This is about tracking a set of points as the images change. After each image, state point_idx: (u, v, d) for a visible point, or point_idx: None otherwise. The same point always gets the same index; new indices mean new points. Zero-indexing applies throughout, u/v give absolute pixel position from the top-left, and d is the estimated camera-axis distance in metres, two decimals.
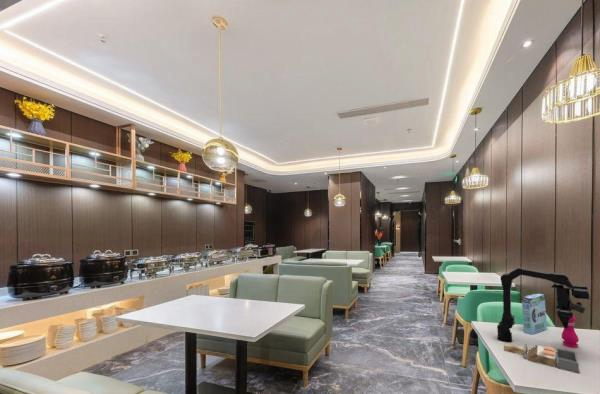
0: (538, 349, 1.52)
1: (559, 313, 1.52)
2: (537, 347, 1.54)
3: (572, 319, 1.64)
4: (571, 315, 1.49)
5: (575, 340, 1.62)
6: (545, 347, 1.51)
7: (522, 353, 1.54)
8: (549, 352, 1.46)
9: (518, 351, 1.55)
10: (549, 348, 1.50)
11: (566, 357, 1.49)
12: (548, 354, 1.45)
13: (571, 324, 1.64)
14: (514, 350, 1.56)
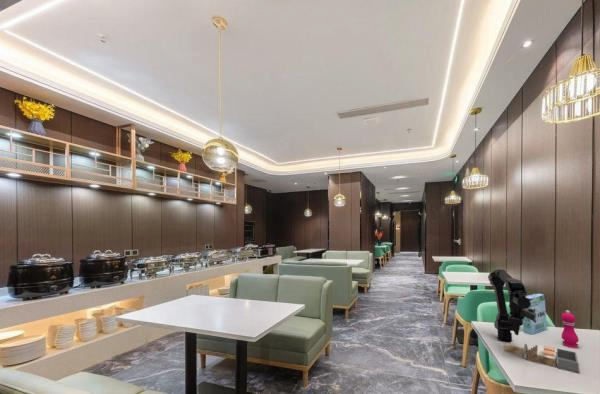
0: (538, 349, 1.52)
1: (510, 320, 1.52)
2: (537, 347, 1.54)
3: (572, 319, 1.64)
4: (521, 322, 1.49)
5: (575, 340, 1.62)
6: (545, 347, 1.51)
7: (522, 353, 1.54)
8: (549, 352, 1.46)
9: (518, 351, 1.55)
10: (549, 348, 1.50)
11: (566, 357, 1.49)
12: (548, 354, 1.45)
13: (571, 324, 1.64)
14: (514, 350, 1.56)
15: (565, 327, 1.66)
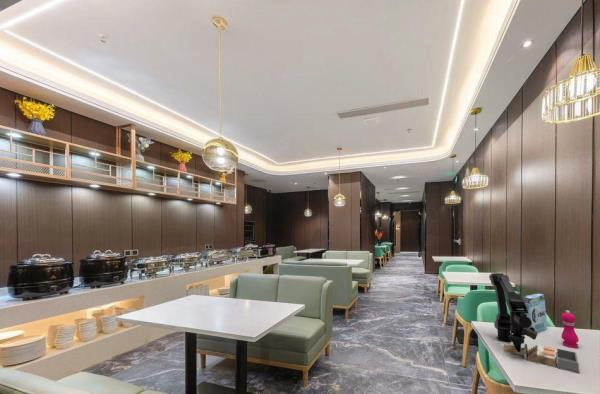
0: (538, 349, 1.52)
1: (511, 339, 1.51)
2: (537, 347, 1.54)
3: (572, 319, 1.64)
4: (522, 342, 1.48)
5: (575, 340, 1.62)
6: (545, 347, 1.51)
7: (522, 353, 1.54)
8: (549, 352, 1.46)
9: None
10: (549, 348, 1.50)
11: (566, 357, 1.49)
12: (548, 354, 1.45)
13: (571, 324, 1.64)
14: (514, 350, 1.56)
15: (565, 327, 1.66)
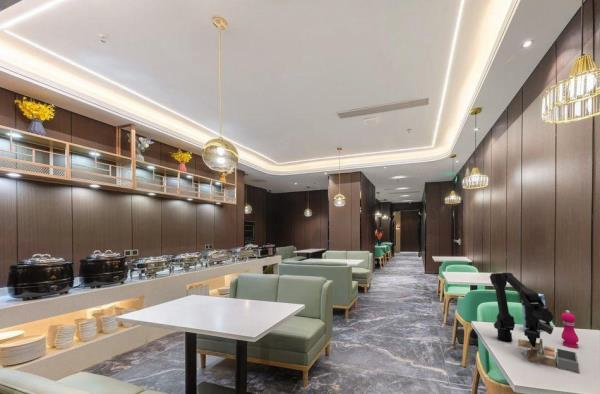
0: None
1: (526, 334, 1.47)
2: None
3: (572, 319, 1.64)
4: (538, 336, 1.44)
5: (575, 340, 1.62)
6: (545, 347, 1.51)
7: (537, 348, 1.50)
8: (549, 352, 1.46)
9: None
10: (549, 348, 1.50)
11: (566, 357, 1.49)
12: (548, 354, 1.45)
13: (571, 324, 1.64)
14: (529, 345, 1.52)
15: (565, 327, 1.66)
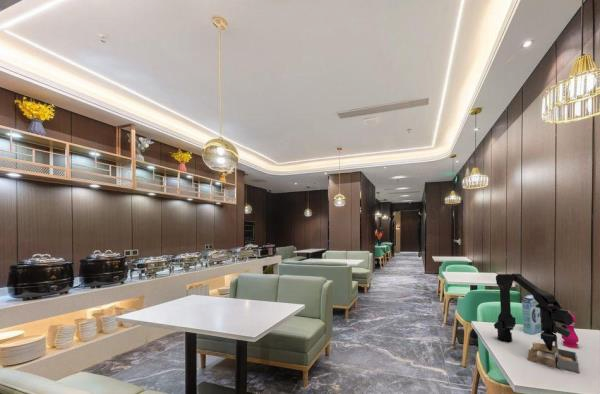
0: None
1: (543, 337, 1.43)
2: None
3: None
4: (555, 340, 1.40)
5: (575, 340, 1.62)
6: None
7: (553, 351, 1.46)
8: None
9: None
10: None
11: (566, 357, 1.49)
12: None
13: (571, 324, 1.64)
14: (544, 348, 1.48)
15: None
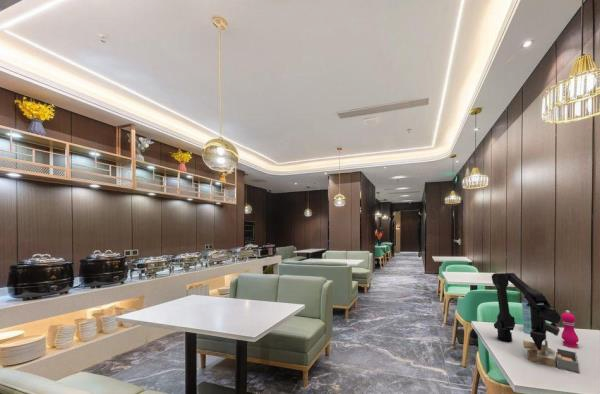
0: None
1: (532, 335, 1.46)
2: None
3: (572, 319, 1.64)
4: (544, 338, 1.43)
5: (575, 340, 1.62)
6: None
7: (543, 350, 1.49)
8: None
9: None
10: None
11: (566, 357, 1.49)
12: None
13: (571, 324, 1.64)
14: (534, 347, 1.51)
15: (565, 327, 1.66)
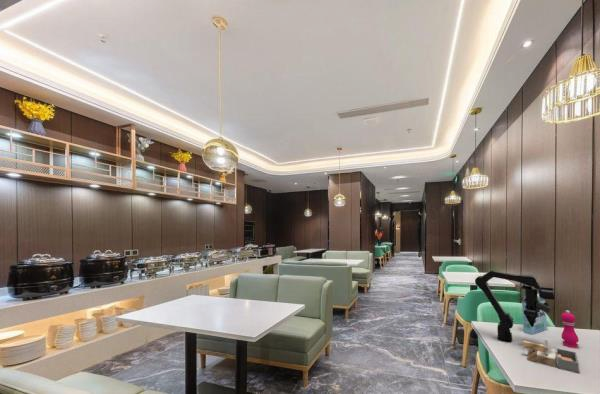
0: None
1: (525, 312, 1.62)
2: None
3: (572, 319, 1.64)
4: (536, 314, 1.59)
5: (575, 340, 1.62)
6: None
7: (543, 350, 1.49)
8: None
9: (539, 348, 1.50)
10: None
11: (566, 357, 1.49)
12: None
13: (571, 324, 1.64)
14: (534, 347, 1.51)
15: (565, 327, 1.66)
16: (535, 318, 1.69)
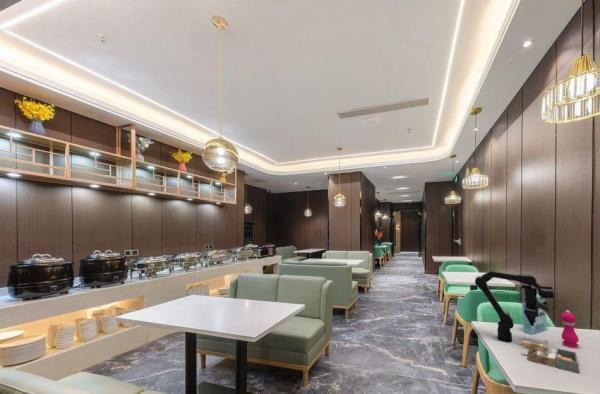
0: None
1: (526, 312, 1.63)
2: None
3: (572, 319, 1.64)
4: (536, 314, 1.60)
5: (575, 340, 1.62)
6: None
7: (543, 350, 1.49)
8: None
9: (539, 348, 1.50)
10: None
11: (566, 357, 1.49)
12: None
13: (571, 324, 1.64)
14: (534, 347, 1.51)
15: (565, 327, 1.66)
16: None
